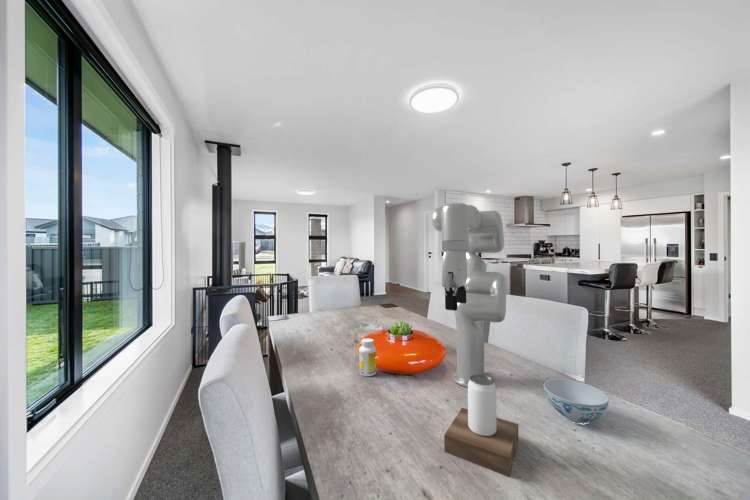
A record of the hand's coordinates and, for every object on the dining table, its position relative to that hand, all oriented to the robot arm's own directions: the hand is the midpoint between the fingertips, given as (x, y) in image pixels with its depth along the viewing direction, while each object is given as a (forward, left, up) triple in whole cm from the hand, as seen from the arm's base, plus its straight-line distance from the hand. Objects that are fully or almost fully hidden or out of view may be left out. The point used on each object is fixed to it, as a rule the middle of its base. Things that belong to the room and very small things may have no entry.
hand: (456, 306), depth 83 cm
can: (+10, +9, -27) cm, 31 cm away
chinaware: (-16, +28, -32) cm, 45 cm away
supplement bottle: (-9, -38, -32) cm, 50 cm away
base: (+10, +9, -31) cm, 34 cm away
